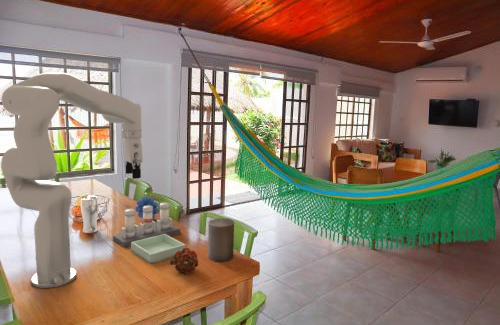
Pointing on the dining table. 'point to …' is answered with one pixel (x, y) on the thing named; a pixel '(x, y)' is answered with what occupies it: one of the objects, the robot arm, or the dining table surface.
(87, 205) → the beer glass
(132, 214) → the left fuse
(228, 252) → the pillar candle
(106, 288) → the dining table surface
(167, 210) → the ball
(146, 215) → the cylinder
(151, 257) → the tray
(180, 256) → the dark red rosette
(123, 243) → the fuse holder
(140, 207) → the grapes
